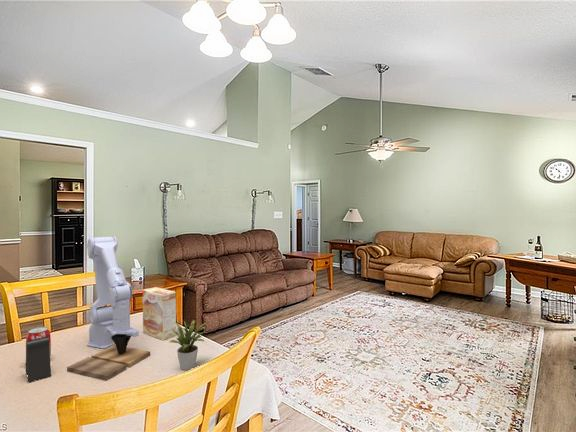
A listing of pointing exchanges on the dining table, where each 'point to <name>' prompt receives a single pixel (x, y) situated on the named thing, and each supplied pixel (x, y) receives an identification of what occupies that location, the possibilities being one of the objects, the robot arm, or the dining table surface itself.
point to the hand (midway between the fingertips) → (122, 353)
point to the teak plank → (126, 358)
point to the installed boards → (96, 368)
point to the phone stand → (38, 359)
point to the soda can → (39, 335)
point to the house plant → (187, 345)
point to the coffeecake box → (159, 312)
